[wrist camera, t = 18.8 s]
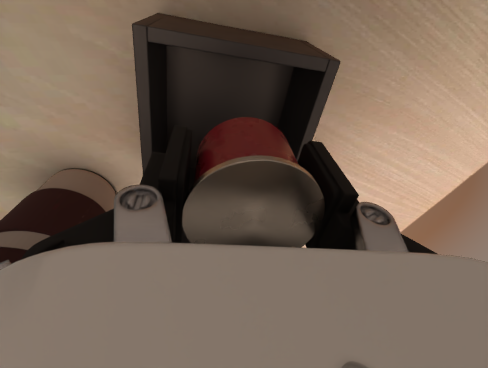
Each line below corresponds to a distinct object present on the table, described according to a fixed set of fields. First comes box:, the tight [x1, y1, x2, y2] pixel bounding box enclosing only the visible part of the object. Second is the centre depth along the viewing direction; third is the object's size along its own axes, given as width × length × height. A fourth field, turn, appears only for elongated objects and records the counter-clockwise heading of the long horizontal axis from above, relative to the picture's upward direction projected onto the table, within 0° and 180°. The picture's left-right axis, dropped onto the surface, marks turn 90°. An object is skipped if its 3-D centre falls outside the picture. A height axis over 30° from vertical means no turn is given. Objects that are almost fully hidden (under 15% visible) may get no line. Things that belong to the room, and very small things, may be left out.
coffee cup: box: [0, 169, 116, 263], centre depth 24 cm, size 10×10×15 cm
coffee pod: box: [182, 117, 325, 248], centre depth 11 cm, size 5×5×4 cm
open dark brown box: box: [132, 13, 340, 189], centre depth 23 cm, size 15×13×8 cm
